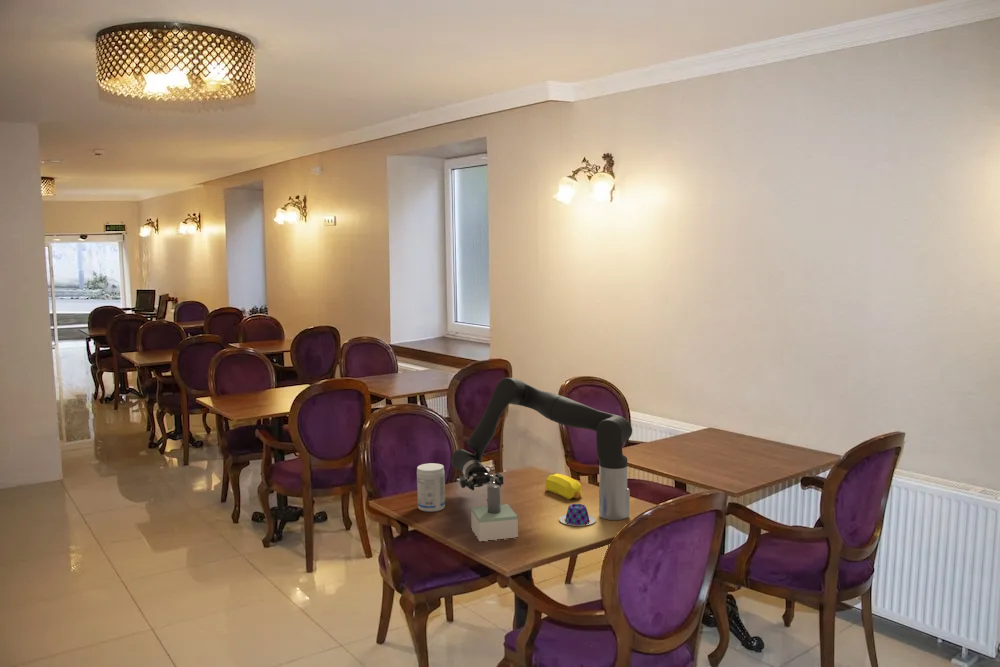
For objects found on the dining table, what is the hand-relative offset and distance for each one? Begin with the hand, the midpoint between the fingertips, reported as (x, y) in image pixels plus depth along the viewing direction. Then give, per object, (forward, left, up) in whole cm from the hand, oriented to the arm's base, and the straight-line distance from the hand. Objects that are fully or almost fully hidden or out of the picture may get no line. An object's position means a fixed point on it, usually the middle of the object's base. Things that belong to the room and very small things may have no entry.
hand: (486, 486), depth 249 cm
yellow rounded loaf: (-34, -22, -12) cm, 42 cm away
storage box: (0, +11, -12) cm, 16 cm away
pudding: (-29, +7, -13) cm, 32 cm away
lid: (0, +11, -8) cm, 13 cm away
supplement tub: (+15, -19, -12) cm, 27 cm away
